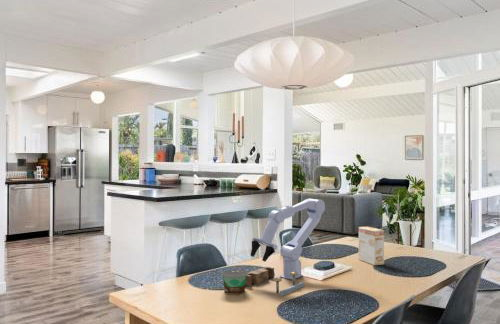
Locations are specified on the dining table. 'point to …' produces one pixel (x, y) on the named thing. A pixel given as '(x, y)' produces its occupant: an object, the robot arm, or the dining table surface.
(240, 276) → the food container
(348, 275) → the dining table surface
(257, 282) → the wooden notched bar
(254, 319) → the dining table surface
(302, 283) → the back rail
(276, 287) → the keyhole posts
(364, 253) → the coffeecake box
